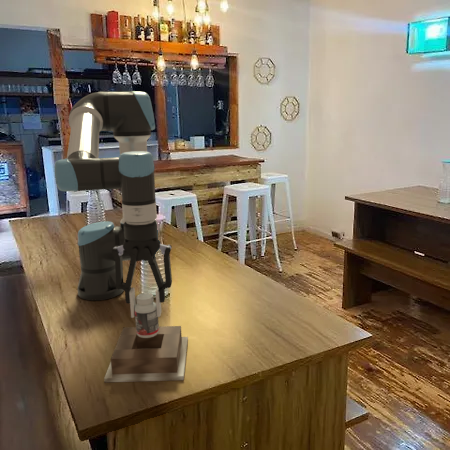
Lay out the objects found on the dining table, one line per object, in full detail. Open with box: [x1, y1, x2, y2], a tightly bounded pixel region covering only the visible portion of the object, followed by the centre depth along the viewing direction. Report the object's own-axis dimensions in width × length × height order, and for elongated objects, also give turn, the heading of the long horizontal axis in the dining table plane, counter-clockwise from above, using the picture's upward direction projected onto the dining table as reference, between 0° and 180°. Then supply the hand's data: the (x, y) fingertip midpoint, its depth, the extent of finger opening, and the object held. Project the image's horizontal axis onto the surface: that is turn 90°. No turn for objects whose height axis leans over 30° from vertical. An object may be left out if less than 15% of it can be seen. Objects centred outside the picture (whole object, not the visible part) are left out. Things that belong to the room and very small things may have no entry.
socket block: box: [103, 325, 189, 383], centre depth 111 cm, size 18×18×5 cm
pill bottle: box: [134, 292, 160, 338], centre depth 108 cm, size 5×5×10 cm
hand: (146, 314), depth 108 cm, fingers closed on pill bottle, 5 cm apart
